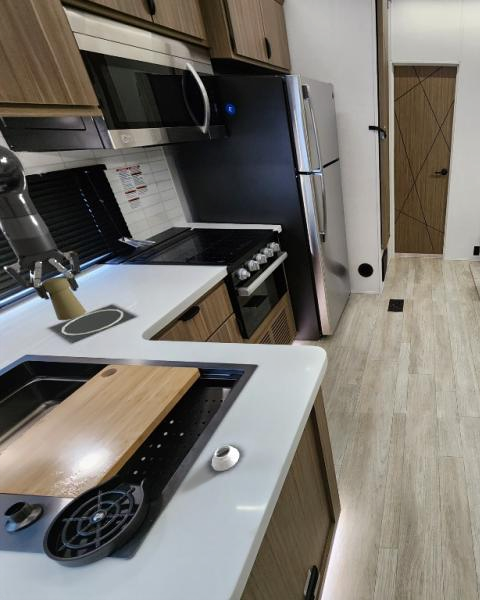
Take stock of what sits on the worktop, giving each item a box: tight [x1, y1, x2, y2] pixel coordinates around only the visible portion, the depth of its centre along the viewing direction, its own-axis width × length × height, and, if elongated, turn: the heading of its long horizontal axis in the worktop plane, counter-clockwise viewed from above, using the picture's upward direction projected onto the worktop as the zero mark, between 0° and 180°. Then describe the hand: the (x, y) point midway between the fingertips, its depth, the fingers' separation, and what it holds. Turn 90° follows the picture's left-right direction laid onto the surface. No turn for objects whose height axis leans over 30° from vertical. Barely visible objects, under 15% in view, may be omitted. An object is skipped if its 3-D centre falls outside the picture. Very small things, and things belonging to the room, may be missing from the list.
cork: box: [41, 276, 87, 321], centre depth 90 cm, size 6×6×11 cm
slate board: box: [50, 304, 136, 344], centre depth 116 cm, size 18×18×1 cm
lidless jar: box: [211, 444, 240, 472], centre depth 67 cm, size 5×3×5 cm
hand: (60, 294), depth 89 cm, fingers closed on cork, 5 cm apart
